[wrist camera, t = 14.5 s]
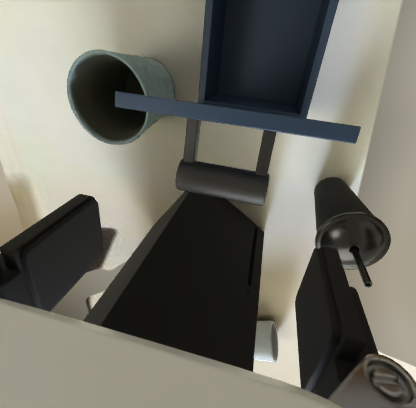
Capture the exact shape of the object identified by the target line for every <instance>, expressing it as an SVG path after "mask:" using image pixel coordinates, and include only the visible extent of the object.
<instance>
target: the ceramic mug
mask: <svg viewBox="0 0 416 408" xmlns="http://www.w3.org/2000/svg"><path fill="white" fill-rule="evenodd" d="M277 357H278V337H277V330H276V325H275V322H274V321H257V326H256V338H255V351H254V360H262V361H269V362H276V361H277Z"/></svg>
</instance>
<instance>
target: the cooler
mask: <svg viewBox="0 0 416 408" xmlns="http://www.w3.org/2000/svg"><path fill="white" fill-rule="evenodd" d="M338 2H339V0H206V6H205V19H204V32H203V46H202V59H201V72H200V85H199V98H198V103H200V104H207V105H214V106H221V107H228V108H235V109H242V110H249V111H256V112H263V113H269V114H276V115H283V116H290V117H297V118H304V119H306V117H307V114H308V110H309V107H310V103H311V99H312V96H313V92H314V89H315V85H316V81H317V78H318V74H319V70H320V67H321V63H322V60H323V56H324V52H325V49H326V45H327V41H328V38H329V34H330V31H331V27H332V23H333V20H334V16H335V13H336V9H337V5H338Z"/></svg>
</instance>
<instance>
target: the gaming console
mask: <svg viewBox="0 0 416 408" xmlns="http://www.w3.org/2000/svg"><path fill="white" fill-rule="evenodd" d="M263 239H264V231H263V230H261V229H260V228H259V227H258V226H257V225H256V224H255V223H253V222H252V221H251V220H250V219H249V218H248V217H246V216H245V215H244V214H243V213H242V212H241V211H240V210H238V209H237V208H236V207H235V206H234V205H233V204H232V203H230V202H229V201H228V200H227V199H224V198H218V197H213V196H208V195H203V194H198V193H193V192H188V191H185V192H184V193H183V194H182V195H181V196H180V198H179V199H178V200H177V201H176V202H175V203H174V204H173V205H172V206H171V207H170V208H169V210H168V211H167V212H166V213H165V214H164V215H163V216H162V217H161V218H160V219H159V220H158V222H157V223H156V224H155V225H154V226H153V227H152V228H151V230H150V231H149V233H148V234H147V235H146V237H145V238H144V239H143V241H142V242H141V243H140V245H139V246H138V247H137V249H136V250H135V251H134V253H133V254H132V256H131V257H130V258H129V260H128V261H127V262H126V264H125V265H124V267H123V268H122V269H121V270H120V272H119V273H118V275H117V276H116V277H115V279H114V280H113V281H112V283H111V284H110V285H109V287H108V288H107V289H106V291H105V292H104V293H103V295H102V296H101V298H100V299H99V300H98V302H97V303H96V304H95V306H94V307H93V308H92V310H91V311H90V312H89V314H88V315H87V316H86V318H85V319H84V322H87V323H91V324H94V325H97V326H101V327H104V328H108V329H111V330H115V331H118V332H121V333H125V334H128V335H132V336H135V337H138V338H142V339H145V340H149V341H152V342H155V343H159V344H162V345H166V346H169V347H172V348H176V349H179V350H182V351H186V352H189V353H192V354H196V355H199V356H202V357H206V358H209V359H212V360H216V361H219V362H222V363H226V364H229V365H232V366H236V367H239V368H242V369H245V370H248V371H251V372H253V363H254V351H255V338H256V326H257V314H258V301H259V289H260V276H261V264H262V252H263Z"/></svg>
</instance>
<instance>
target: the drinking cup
mask: <svg viewBox="0 0 416 408" xmlns="http://www.w3.org/2000/svg"><path fill="white" fill-rule="evenodd" d="M314 196H315V213H316V230H317V234H316V237H315V247H316V248H318V249H319V248H320V246H326V247H331V248H336V249H337V250H338V252H339V255H340V259H341V262H342V265H343V268H344V269H359V273H360V275H361V278H362V281H363V283H364V286H365V287H371V286H372V282H371V280H370V277H369V275H368V272H367V270H366V268H365V267H367V266H370V265H372V264H374V263H376V262H377V261H379V260H380V259H381V258H382V257H383V256H384V255H385V254H386V253H387V251H388V249H389V246H390V241H391V237H390V233H389V231H388V228H387V227H386V225H385V224H384V223H383V222H382V221H381V220H379V219H378V218H376V217H375V216H374V215H373V214H372V213H371V212H370V211H369V210H368V208H367V207H366V206H365V205H364V204H363V203H362V202H361V201H360V199H359V198H358V197H357V196H356V195H355V194H354V192H353V191H352V190H351V189H350V188H349V187H348V185H347V184H346V183H345V182H344V181H343V180H341V179H339V178H327V179H324V180H322V181H321V182H319V183H318V185H317V186H316V188H315V191H314Z"/></svg>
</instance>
